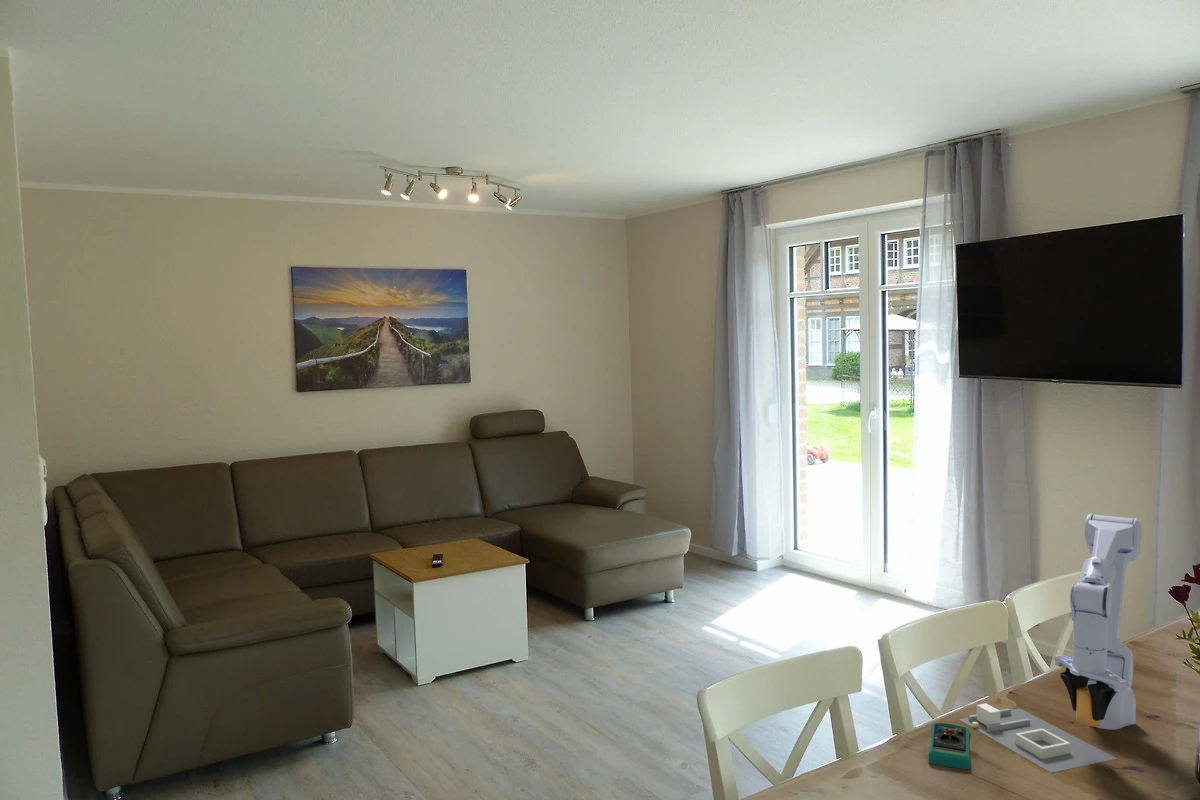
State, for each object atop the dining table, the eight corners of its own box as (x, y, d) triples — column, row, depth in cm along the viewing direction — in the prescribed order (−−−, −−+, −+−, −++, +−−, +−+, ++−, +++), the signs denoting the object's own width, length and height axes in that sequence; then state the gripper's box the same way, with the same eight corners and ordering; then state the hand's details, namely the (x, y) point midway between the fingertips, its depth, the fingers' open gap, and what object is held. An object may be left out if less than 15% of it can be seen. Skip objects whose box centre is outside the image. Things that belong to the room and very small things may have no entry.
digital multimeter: (969, 739, 176) (969, 725, 175) (969, 772, 162) (970, 757, 162) (931, 733, 179) (931, 719, 178) (928, 765, 165) (928, 750, 165)
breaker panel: (1019, 713, 186) (1019, 699, 186) (1117, 764, 163) (1117, 748, 163) (958, 724, 181) (958, 710, 181) (1051, 779, 158) (1051, 762, 158)
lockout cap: (1087, 715, 168) (1088, 686, 168) (1105, 724, 164) (1105, 693, 164) (1071, 719, 167) (1071, 688, 167) (1088, 727, 163) (1089, 696, 163)
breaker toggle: (985, 718, 181) (985, 703, 180) (1000, 726, 177) (1000, 710, 177) (976, 719, 180) (976, 704, 180) (990, 727, 176) (990, 712, 176)
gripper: (1043, 635, 170) (1041, 702, 171) (1106, 661, 157) (1105, 733, 157) (1070, 631, 173) (1069, 697, 173) (1136, 656, 159) (1134, 727, 160)
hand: (1088, 714), depth 166 cm, fingers closed on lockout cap, 4 cm apart
